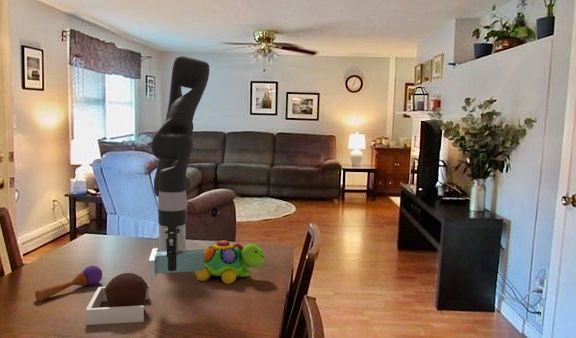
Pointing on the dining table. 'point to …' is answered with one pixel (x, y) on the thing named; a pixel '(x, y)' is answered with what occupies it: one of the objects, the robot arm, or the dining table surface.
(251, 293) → the dining table surface
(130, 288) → the muffin
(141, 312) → the bay
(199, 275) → the turtle toy
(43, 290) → the purple ball-ended brown rod
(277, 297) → the dining table surface
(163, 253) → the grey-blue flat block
